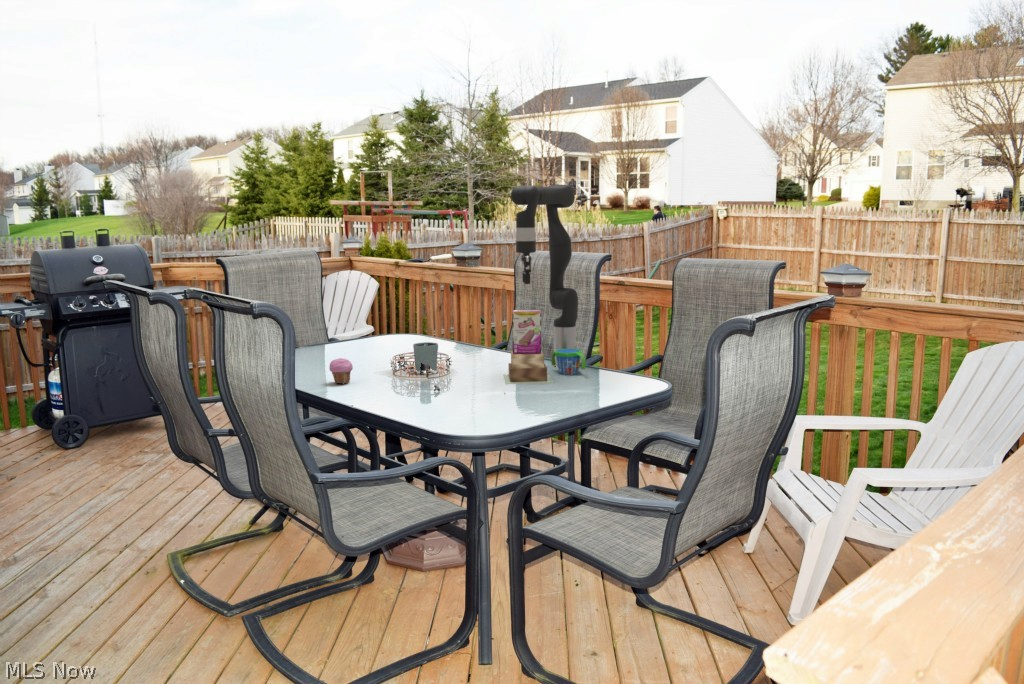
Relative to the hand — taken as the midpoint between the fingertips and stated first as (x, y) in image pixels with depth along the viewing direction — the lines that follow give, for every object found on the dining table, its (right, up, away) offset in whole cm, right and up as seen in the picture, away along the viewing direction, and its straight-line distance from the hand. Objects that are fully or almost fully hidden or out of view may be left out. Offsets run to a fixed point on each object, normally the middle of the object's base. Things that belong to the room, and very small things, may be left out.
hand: (526, 283), depth 296 cm
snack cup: (+17, -36, +16) cm, 43 cm away
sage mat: (+1, -38, +6) cm, 38 cm away
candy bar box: (0, -27, +4) cm, 27 cm away
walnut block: (+1, -36, +6) cm, 37 cm away
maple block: (0, -31, +5) cm, 32 cm away
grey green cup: (-41, -35, +27) cm, 60 cm away
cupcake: (-72, -39, +8) cm, 82 cm away
